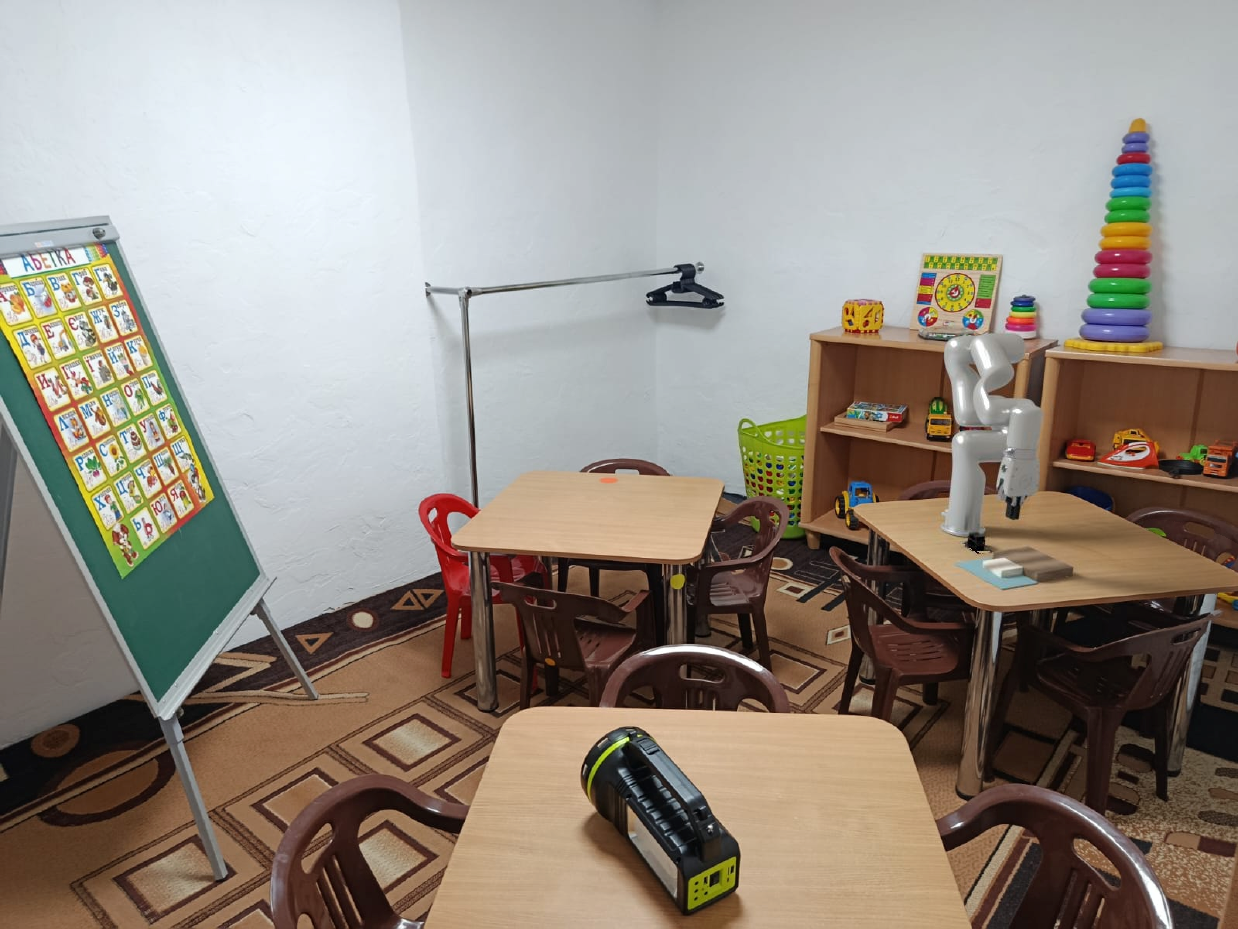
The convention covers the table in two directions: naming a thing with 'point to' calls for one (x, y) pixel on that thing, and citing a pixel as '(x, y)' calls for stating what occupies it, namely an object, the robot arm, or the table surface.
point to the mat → (993, 579)
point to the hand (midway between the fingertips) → (1012, 518)
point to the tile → (1002, 567)
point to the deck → (1035, 563)
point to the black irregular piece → (976, 542)
